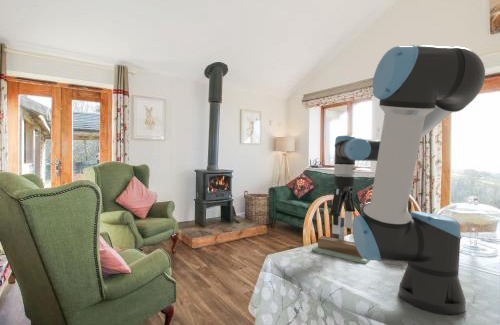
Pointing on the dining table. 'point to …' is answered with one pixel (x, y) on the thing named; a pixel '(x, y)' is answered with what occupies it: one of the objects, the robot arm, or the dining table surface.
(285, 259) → the dining table surface
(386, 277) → the dining table surface
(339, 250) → the rail
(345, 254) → the mat
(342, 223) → the post far
